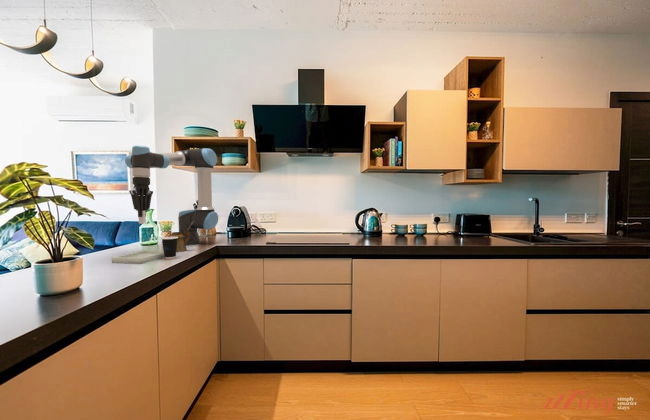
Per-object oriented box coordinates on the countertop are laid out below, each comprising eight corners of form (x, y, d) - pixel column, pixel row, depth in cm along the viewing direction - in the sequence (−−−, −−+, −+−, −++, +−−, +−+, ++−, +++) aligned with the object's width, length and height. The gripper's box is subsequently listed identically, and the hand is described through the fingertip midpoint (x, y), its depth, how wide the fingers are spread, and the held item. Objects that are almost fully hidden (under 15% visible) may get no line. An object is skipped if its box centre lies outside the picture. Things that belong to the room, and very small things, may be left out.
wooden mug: (194, 251, 164) (193, 221, 164) (167, 253, 159) (167, 221, 158) (195, 249, 172) (194, 220, 172) (170, 250, 167) (169, 220, 167)
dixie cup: (178, 256, 150) (178, 236, 150) (178, 258, 143) (178, 237, 143) (162, 257, 147) (161, 237, 146) (161, 260, 140) (160, 238, 140)
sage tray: (144, 254, 155) (144, 250, 154) (170, 255, 152) (170, 251, 152) (112, 262, 135) (111, 257, 135) (141, 263, 132) (141, 258, 132)
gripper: (144, 178, 149) (145, 222, 150) (123, 176, 136) (124, 224, 137) (157, 178, 148) (158, 222, 149) (137, 175, 135) (138, 224, 136)
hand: (142, 223), depth 143 cm, fingers closed
